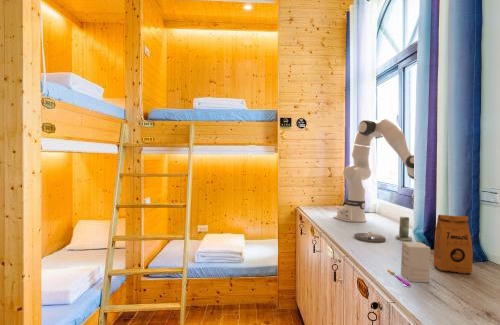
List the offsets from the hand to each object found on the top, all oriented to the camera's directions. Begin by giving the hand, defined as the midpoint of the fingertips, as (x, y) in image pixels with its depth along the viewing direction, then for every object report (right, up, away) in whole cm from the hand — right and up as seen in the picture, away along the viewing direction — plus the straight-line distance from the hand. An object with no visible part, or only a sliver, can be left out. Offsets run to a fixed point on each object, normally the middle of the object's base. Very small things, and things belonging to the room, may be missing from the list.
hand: (416, 202), depth 175 cm
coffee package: (-11, -21, -48) cm, 54 cm away
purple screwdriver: (-38, -21, -58) cm, 73 cm away
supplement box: (-31, -21, -58) cm, 69 cm away
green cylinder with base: (-7, -20, 0) cm, 21 cm away
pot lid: (-26, -20, -1) cm, 33 cm away
